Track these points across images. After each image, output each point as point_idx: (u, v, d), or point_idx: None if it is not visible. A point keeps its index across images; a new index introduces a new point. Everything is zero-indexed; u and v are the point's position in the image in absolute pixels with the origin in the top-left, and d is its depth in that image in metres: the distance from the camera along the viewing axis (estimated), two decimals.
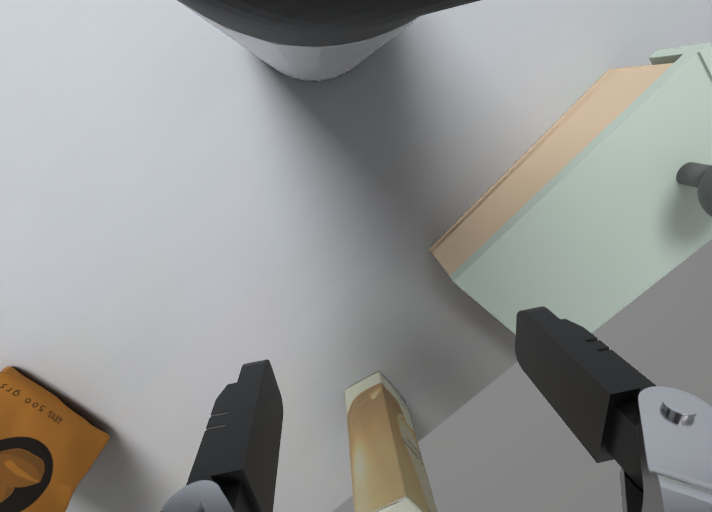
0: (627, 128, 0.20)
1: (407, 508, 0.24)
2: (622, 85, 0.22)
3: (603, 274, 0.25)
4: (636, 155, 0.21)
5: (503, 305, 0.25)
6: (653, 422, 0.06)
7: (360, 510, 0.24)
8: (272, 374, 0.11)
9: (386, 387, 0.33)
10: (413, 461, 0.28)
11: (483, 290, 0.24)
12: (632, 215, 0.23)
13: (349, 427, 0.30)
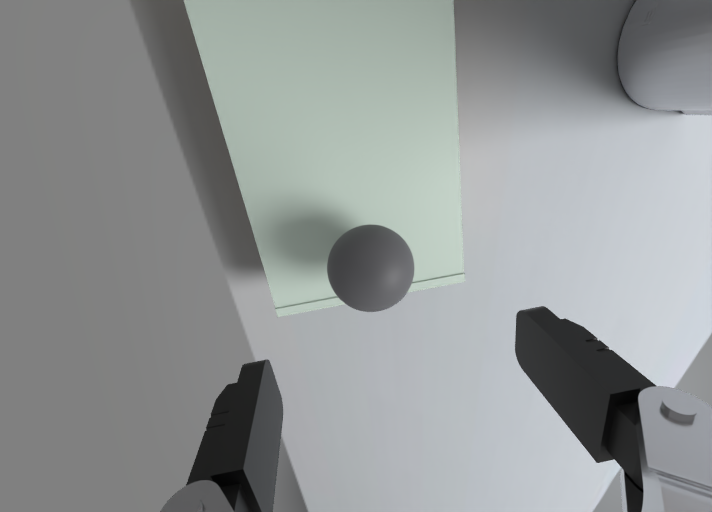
0: (452, 203, 0.20)
1: None
2: None
3: (298, 114, 0.18)
4: (420, 202, 0.20)
5: None
6: (653, 422, 0.06)
7: None
8: (272, 374, 0.11)
9: None
10: None
11: None
12: (356, 177, 0.19)
13: None
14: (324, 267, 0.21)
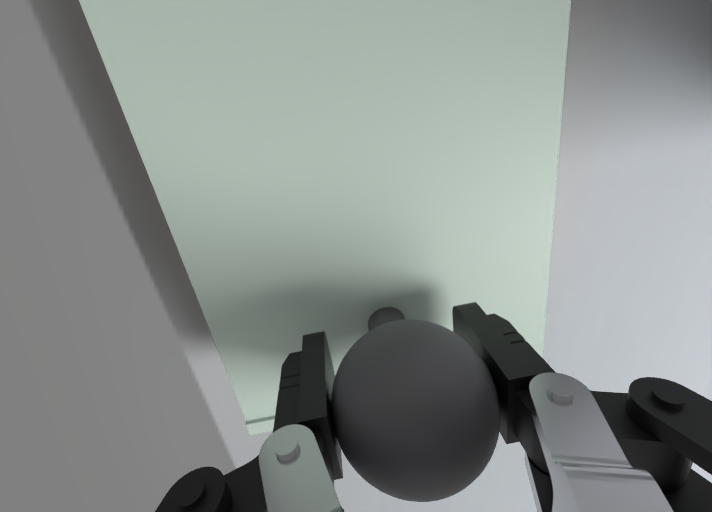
0: (535, 261, 0.12)
1: None
2: None
3: (276, 112, 0.10)
4: (484, 261, 0.12)
5: None
6: (545, 410, 0.07)
7: None
8: (327, 345, 0.11)
9: None
10: None
11: None
12: (380, 223, 0.11)
13: None
14: None
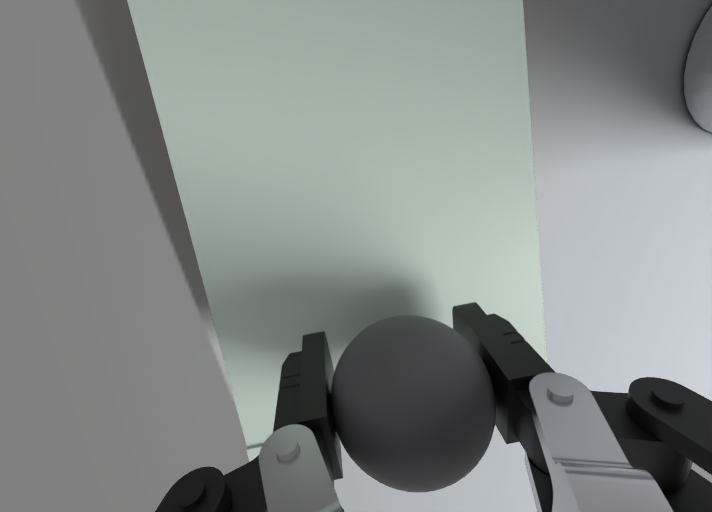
0: (527, 277, 0.13)
1: None
2: None
3: (289, 142, 0.12)
4: (477, 276, 0.13)
5: None
6: (545, 410, 0.07)
7: None
8: (327, 345, 0.11)
9: None
10: None
11: None
12: (378, 238, 0.12)
13: None
14: None
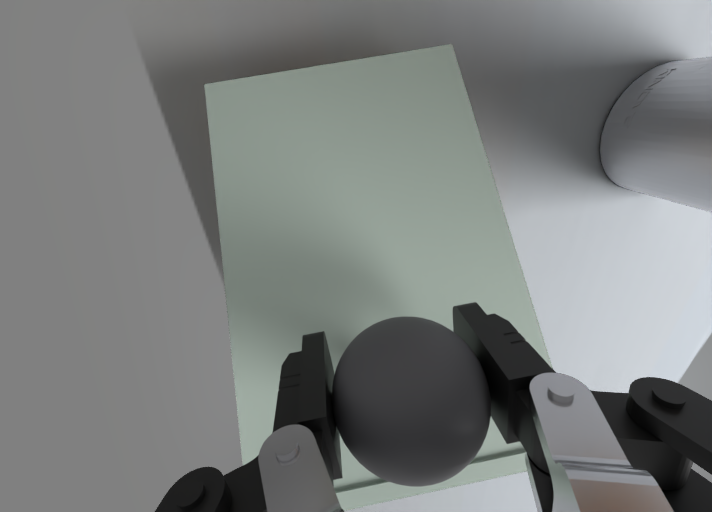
0: (523, 316, 0.14)
1: None
2: None
3: (309, 209, 0.15)
4: None
5: (368, 75, 0.17)
6: (546, 410, 0.07)
7: None
8: (327, 345, 0.11)
9: None
10: None
11: (412, 66, 0.17)
12: (381, 281, 0.14)
13: None
14: None
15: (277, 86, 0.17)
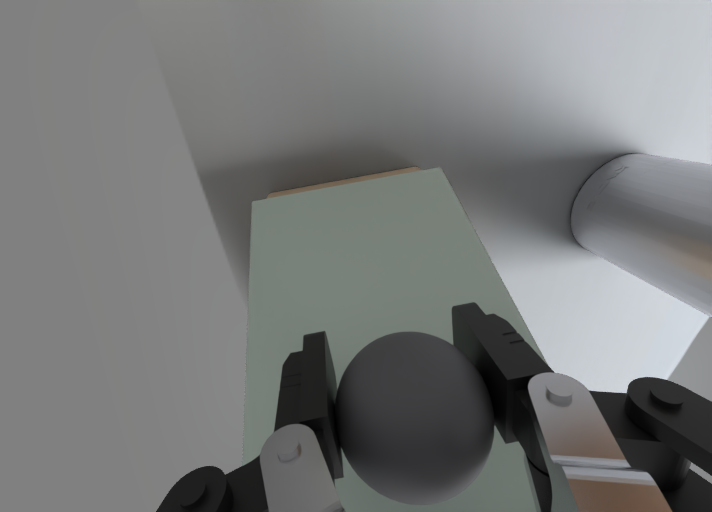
0: None
1: None
2: None
3: (326, 282, 0.17)
4: None
5: (376, 189, 0.22)
6: (544, 410, 0.07)
7: None
8: (328, 345, 0.11)
9: None
10: None
11: (410, 181, 0.22)
12: None
13: None
14: (344, 491, 0.12)
15: (306, 199, 0.22)
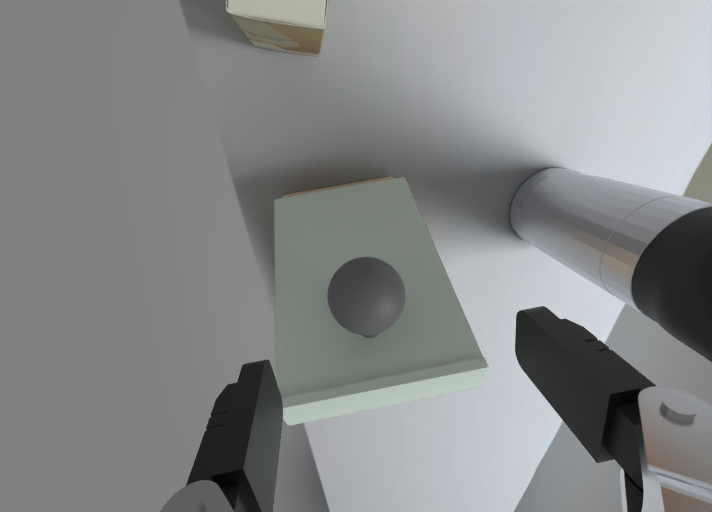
0: (447, 294, 0.23)
1: (306, 15, 0.21)
2: None
3: (324, 249, 0.27)
4: (418, 295, 0.24)
5: (359, 191, 0.32)
6: (653, 422, 0.06)
7: None
8: (272, 374, 0.11)
9: (307, 53, 0.31)
10: (280, 35, 0.25)
11: (383, 186, 0.32)
12: None
13: None
14: (333, 352, 0.21)
15: (311, 198, 0.31)
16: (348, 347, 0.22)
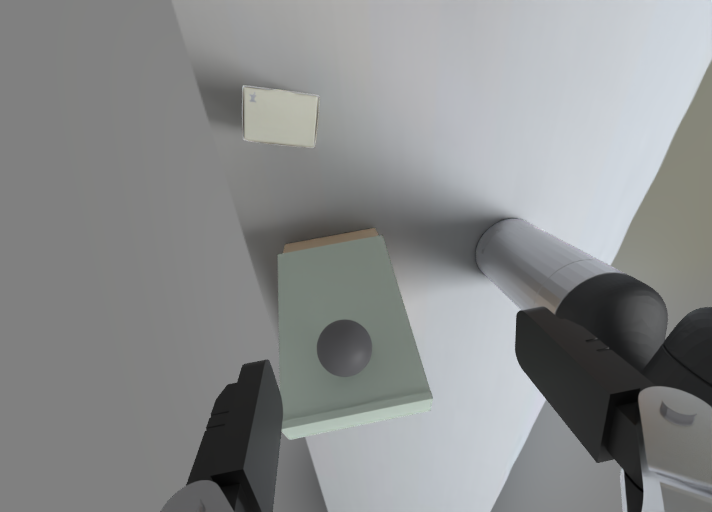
0: (408, 340, 0.31)
1: (301, 140, 0.29)
2: None
3: (317, 300, 0.35)
4: (387, 340, 0.31)
5: (346, 248, 0.39)
6: (653, 422, 0.06)
7: (319, 103, 0.28)
8: (272, 374, 0.11)
9: None
10: None
11: (365, 244, 0.39)
12: None
13: None
14: (322, 386, 0.29)
15: (307, 253, 0.39)
16: (333, 382, 0.29)
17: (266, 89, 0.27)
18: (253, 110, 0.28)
